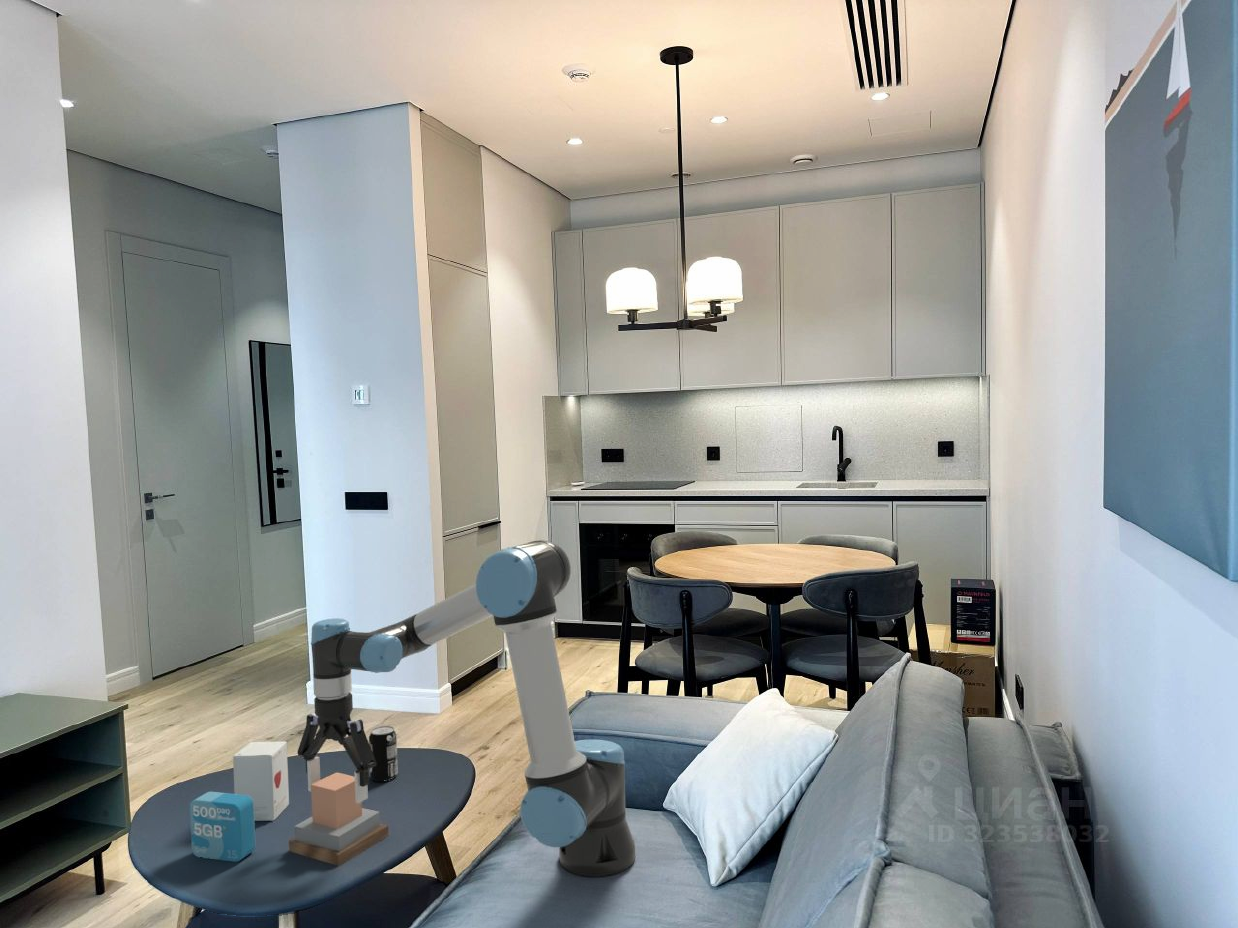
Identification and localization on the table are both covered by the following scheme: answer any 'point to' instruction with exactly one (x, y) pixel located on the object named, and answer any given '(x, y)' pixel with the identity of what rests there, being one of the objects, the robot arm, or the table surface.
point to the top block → (337, 831)
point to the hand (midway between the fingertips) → (337, 794)
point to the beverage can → (383, 753)
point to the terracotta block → (335, 801)
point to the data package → (222, 826)
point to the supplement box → (263, 777)
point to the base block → (344, 854)
